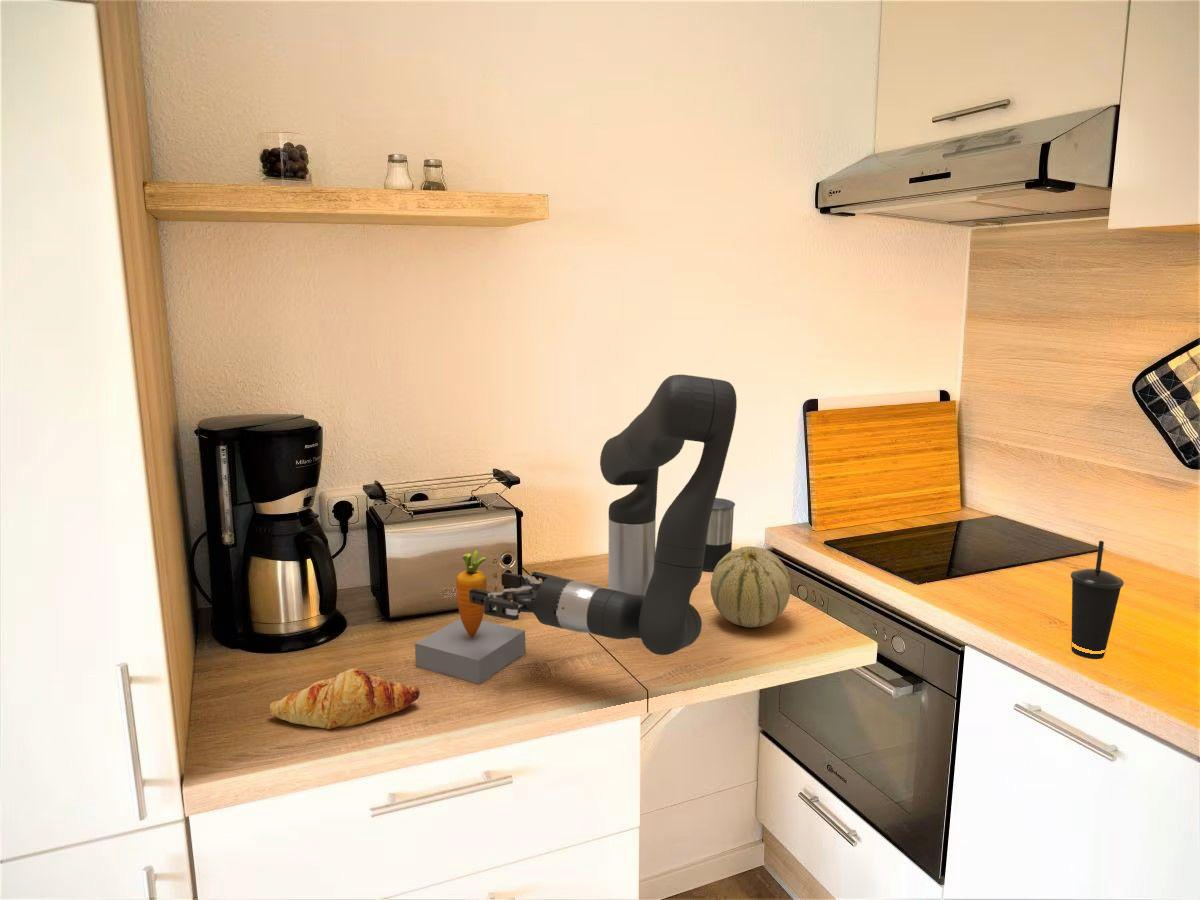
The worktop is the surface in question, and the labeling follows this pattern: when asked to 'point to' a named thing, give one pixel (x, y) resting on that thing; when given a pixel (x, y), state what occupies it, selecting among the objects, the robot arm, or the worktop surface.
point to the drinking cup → (1093, 607)
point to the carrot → (464, 583)
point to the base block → (470, 650)
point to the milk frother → (719, 533)
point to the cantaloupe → (750, 586)
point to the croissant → (344, 700)
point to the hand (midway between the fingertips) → (487, 586)
